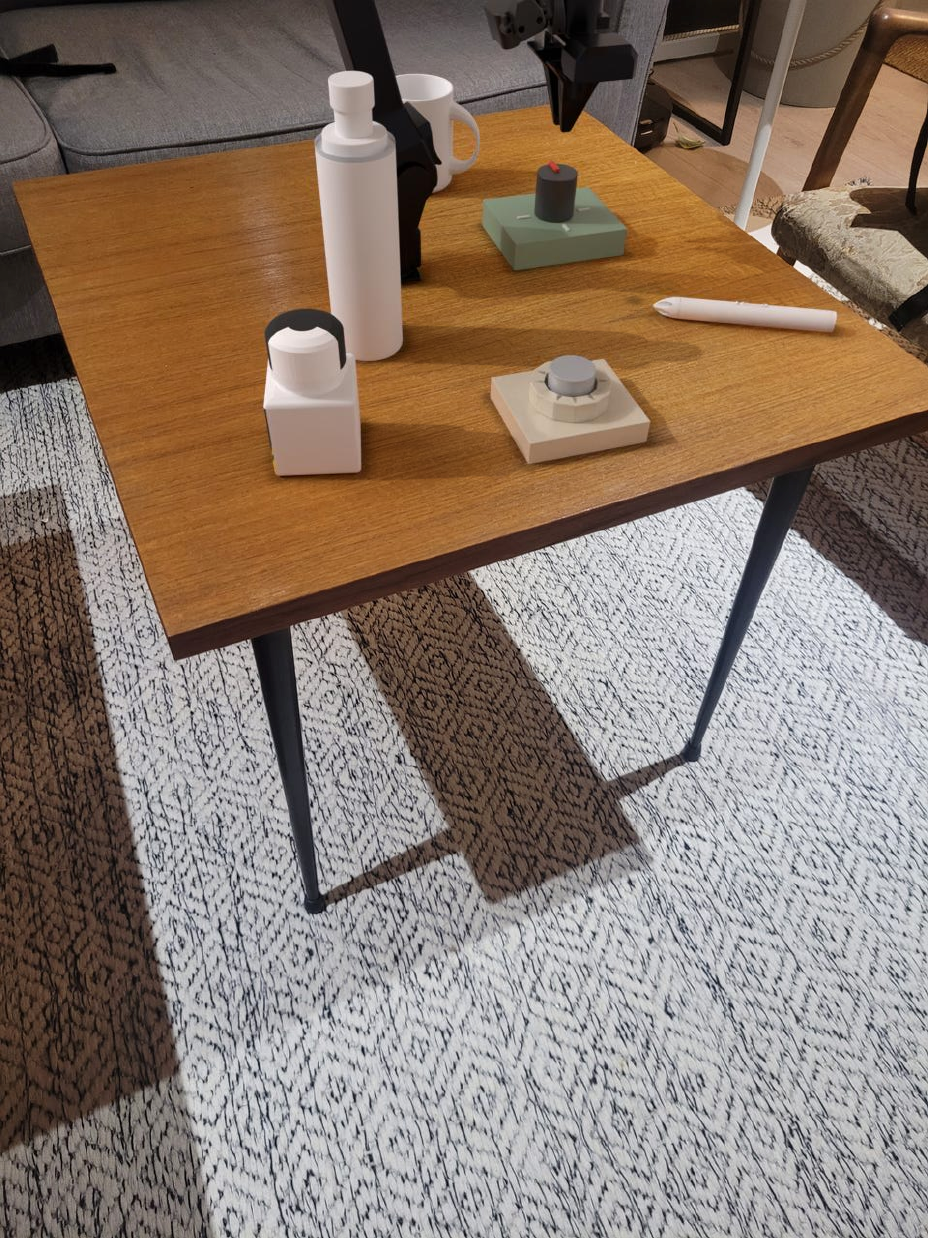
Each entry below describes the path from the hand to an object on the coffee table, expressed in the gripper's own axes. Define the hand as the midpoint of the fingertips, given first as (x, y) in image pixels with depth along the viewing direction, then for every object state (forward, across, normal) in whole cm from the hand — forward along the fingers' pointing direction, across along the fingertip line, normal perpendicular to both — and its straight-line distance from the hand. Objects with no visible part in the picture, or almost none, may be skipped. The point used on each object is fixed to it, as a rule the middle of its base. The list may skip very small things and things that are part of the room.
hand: (561, 127), depth 95 cm
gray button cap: (+8, +32, -11) cm, 35 cm away
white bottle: (+12, +15, -25) cm, 32 cm away
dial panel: (+12, 0, 0) cm, 12 cm away
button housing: (+12, +32, -11) cm, 36 cm away
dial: (+9, 0, 0) cm, 9 cm away
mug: (+12, -18, -9) cm, 24 cm away
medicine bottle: (+12, +30, -33) cm, 46 cm away
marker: (+12, +22, +12) cm, 28 cm away
